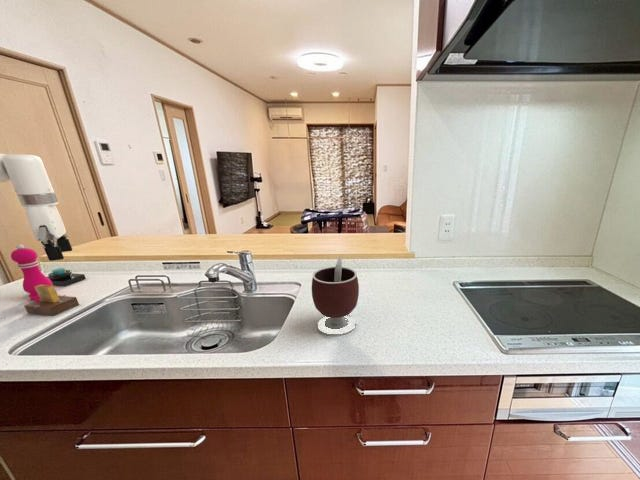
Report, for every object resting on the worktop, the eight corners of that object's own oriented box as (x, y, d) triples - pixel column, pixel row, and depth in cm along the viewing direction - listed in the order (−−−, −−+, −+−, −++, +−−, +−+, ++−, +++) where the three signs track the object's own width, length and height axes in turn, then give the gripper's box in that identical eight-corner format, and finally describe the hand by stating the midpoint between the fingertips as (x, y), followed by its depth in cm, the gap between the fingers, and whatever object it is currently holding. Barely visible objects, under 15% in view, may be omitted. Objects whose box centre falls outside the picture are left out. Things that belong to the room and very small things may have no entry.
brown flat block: (25, 314, 96) (21, 305, 95) (56, 301, 105) (53, 293, 103) (51, 317, 95) (47, 308, 94) (81, 303, 103) (77, 295, 102)
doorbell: (39, 284, 118) (35, 275, 116) (61, 277, 125) (58, 268, 124) (65, 286, 116) (61, 277, 115) (86, 279, 124) (82, 270, 122)
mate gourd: (354, 339, 85) (354, 275, 77) (308, 335, 86) (303, 272, 79) (362, 313, 99) (362, 256, 92) (322, 310, 101) (319, 254, 93)
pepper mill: (24, 299, 106) (-2, 245, 98) (50, 291, 112) (28, 240, 105) (35, 303, 104) (9, 248, 96) (61, 294, 110) (38, 242, 102)
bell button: (51, 275, 118) (49, 270, 117) (61, 271, 121) (59, 267, 121) (58, 275, 118) (57, 271, 117) (68, 272, 121) (67, 268, 120)
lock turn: (41, 301, 98) (33, 285, 96) (47, 299, 100) (40, 283, 98) (54, 302, 97) (46, 287, 95) (60, 300, 99) (53, 284, 97)
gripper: (31, 197, 91) (53, 250, 98) (7, 204, 78) (35, 265, 84) (64, 195, 95) (83, 247, 101) (46, 202, 81) (70, 261, 88)
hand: (61, 255), depth 93 cm, fingers open, 9 cm apart
